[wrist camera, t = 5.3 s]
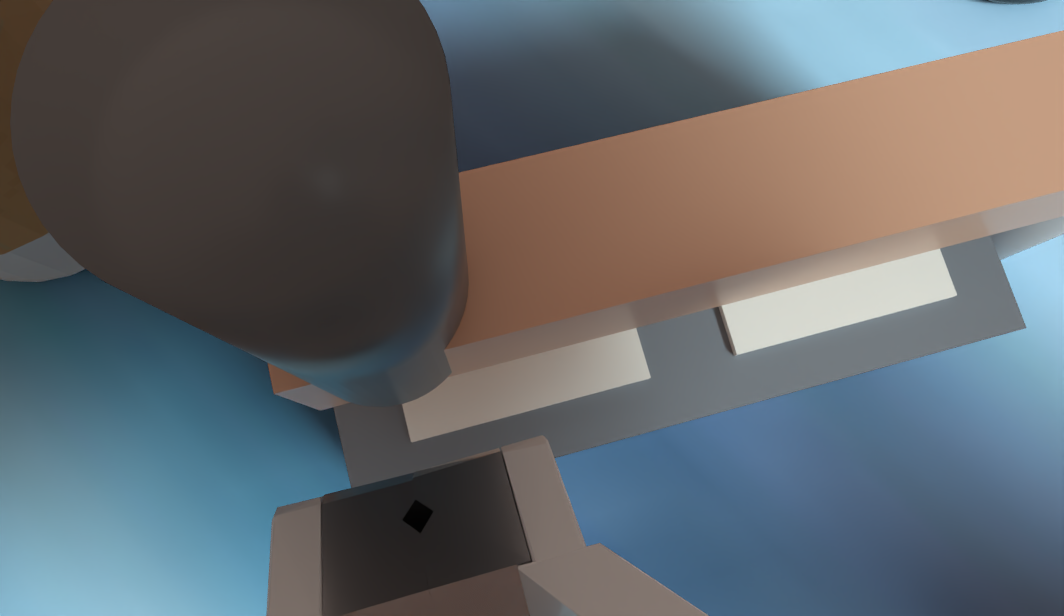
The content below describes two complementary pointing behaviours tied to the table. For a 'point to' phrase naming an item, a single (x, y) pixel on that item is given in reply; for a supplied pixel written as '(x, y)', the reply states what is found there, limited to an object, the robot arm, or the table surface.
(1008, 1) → the supplement bottle
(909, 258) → the box
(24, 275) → the coffee cup
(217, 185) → the swing arm
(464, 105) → the table surface
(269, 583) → the robot arm
